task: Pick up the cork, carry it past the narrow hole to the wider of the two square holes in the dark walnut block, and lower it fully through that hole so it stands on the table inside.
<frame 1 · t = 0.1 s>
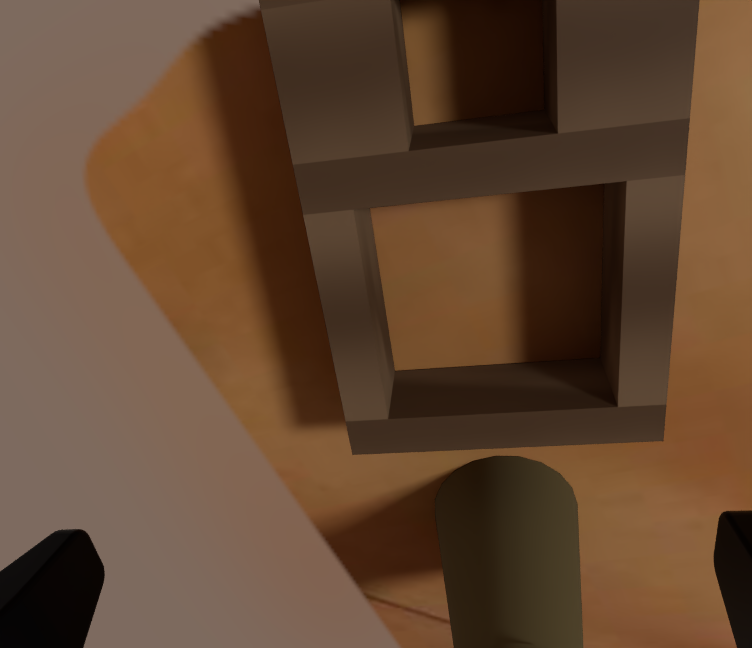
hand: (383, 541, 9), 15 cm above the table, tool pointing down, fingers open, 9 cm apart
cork: (504, 506, 28), on the table
hole block: (483, 197, 22), on the table
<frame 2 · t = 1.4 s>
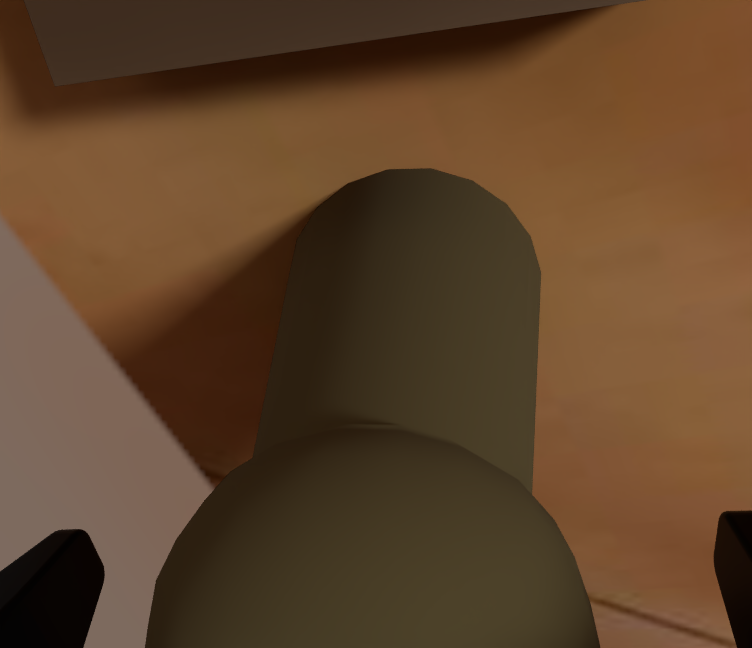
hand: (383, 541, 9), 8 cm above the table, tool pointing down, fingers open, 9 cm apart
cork: (413, 287, 16), on the table
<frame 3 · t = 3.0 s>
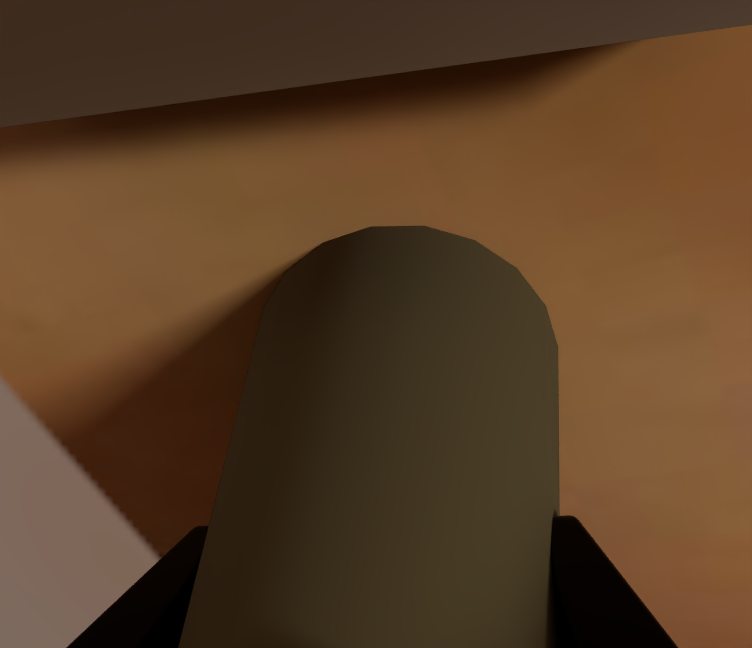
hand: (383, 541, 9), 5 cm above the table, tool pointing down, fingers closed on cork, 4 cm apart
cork: (404, 361, 13), on the table, touching gripper
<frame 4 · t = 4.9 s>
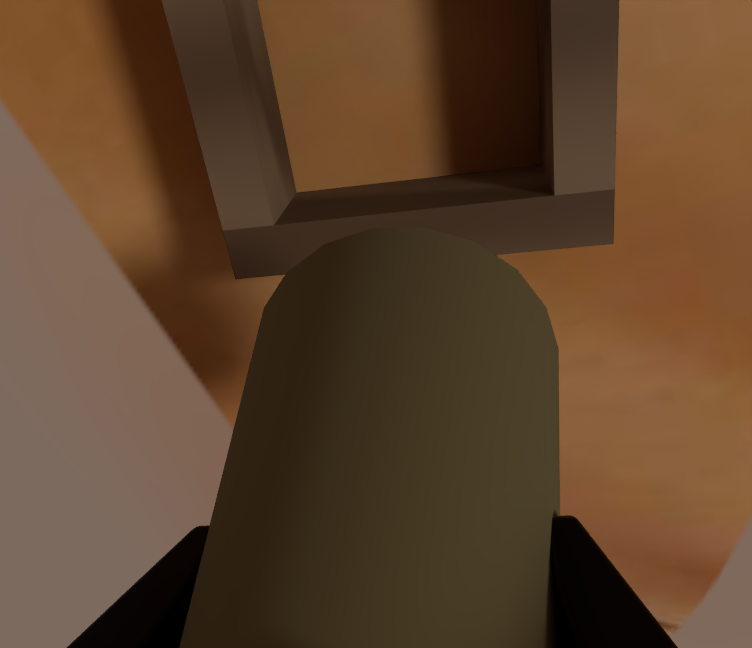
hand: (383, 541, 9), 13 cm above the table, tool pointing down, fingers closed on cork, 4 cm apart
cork: (404, 362, 13), point 9 cm above the table, touching gripper
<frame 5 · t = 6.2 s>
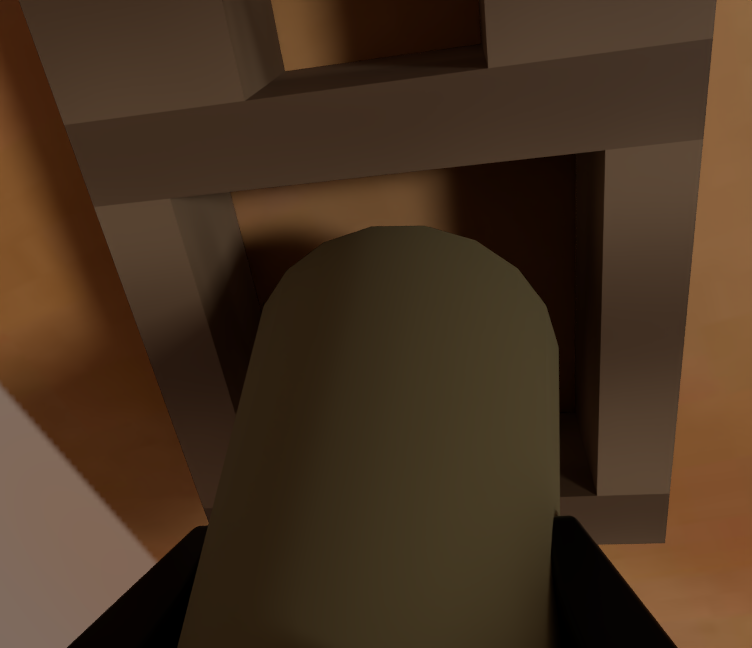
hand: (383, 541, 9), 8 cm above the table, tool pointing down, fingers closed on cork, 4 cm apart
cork: (404, 361, 13), point 3 cm above the table, touching gripper
hole block: (396, 181, 14), on the table
when the fingers open (6 cm above the table, at t = 7.2 s): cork drops 1 cm, resting in hole block.
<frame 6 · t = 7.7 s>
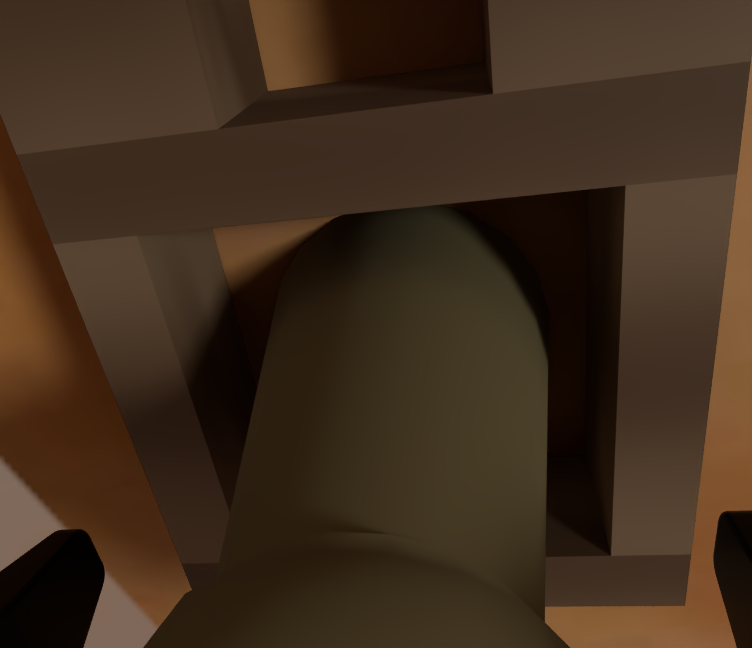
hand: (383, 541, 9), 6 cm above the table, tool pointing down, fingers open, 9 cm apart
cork: (409, 327, 15), resting in hole block
hole block: (391, 210, 13), on the table
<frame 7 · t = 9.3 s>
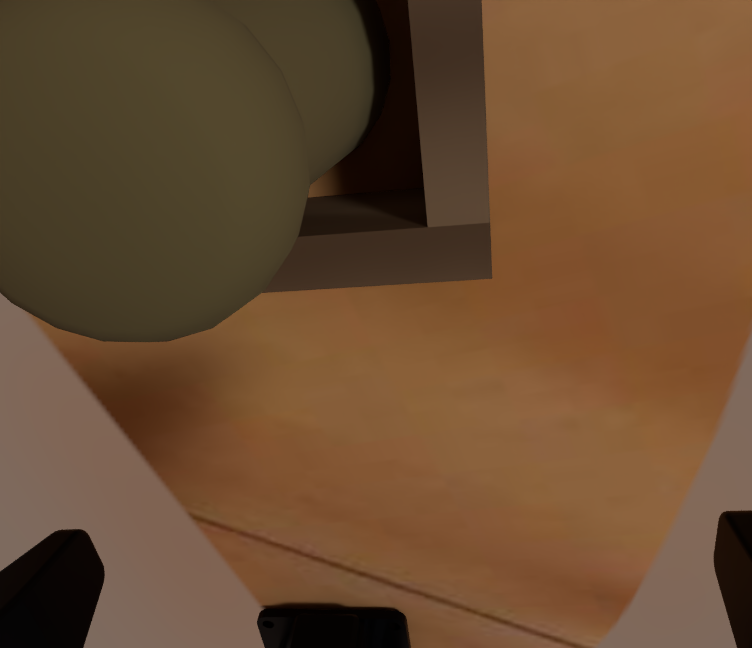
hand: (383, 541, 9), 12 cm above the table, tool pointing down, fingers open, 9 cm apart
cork: (279, 62, 18), resting in hole block
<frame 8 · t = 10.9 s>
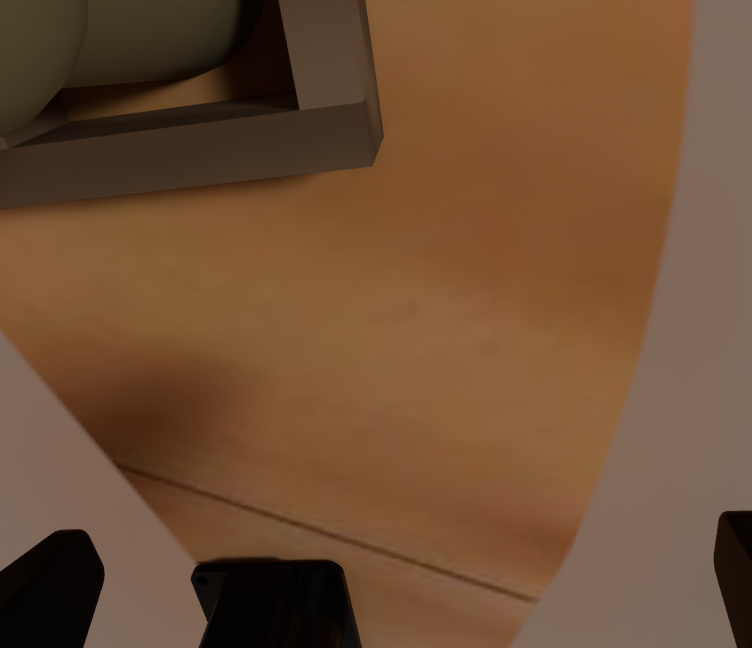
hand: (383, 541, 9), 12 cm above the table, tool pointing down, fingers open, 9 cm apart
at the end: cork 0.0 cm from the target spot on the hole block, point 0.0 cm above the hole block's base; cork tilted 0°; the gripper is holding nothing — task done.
